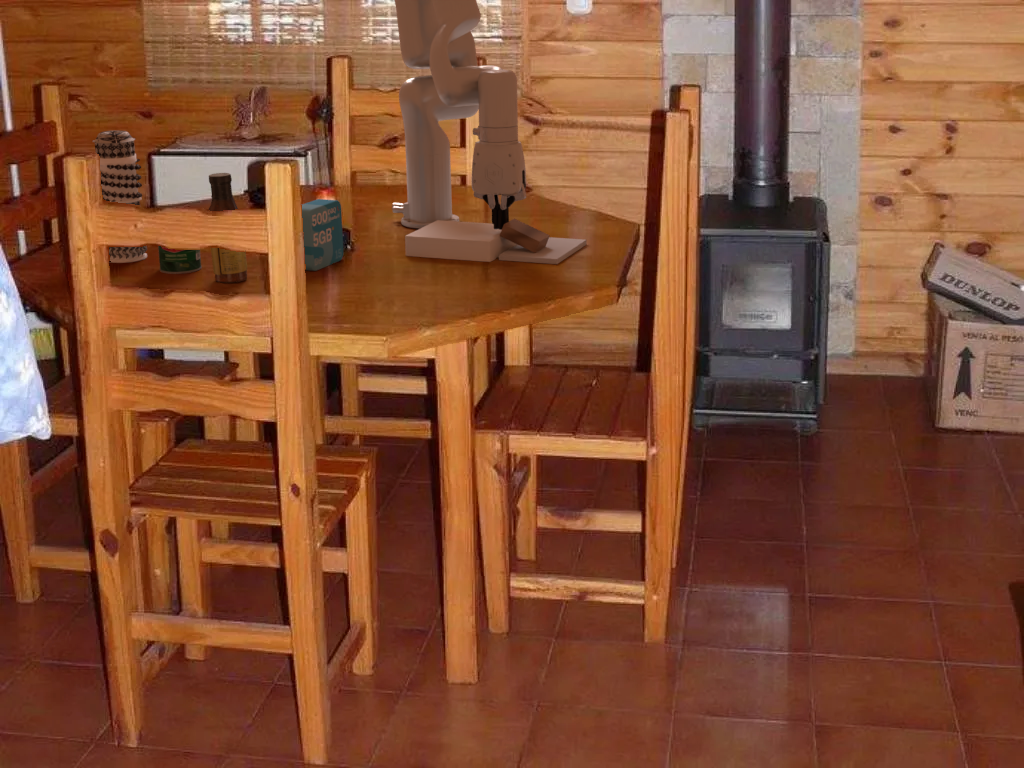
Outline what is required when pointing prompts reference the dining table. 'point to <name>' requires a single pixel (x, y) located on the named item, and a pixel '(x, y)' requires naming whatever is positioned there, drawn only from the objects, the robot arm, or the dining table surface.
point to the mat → (545, 251)
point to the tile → (524, 235)
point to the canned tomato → (179, 260)
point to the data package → (322, 233)
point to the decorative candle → (120, 182)
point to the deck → (457, 241)
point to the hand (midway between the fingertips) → (500, 228)
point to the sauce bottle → (224, 261)
